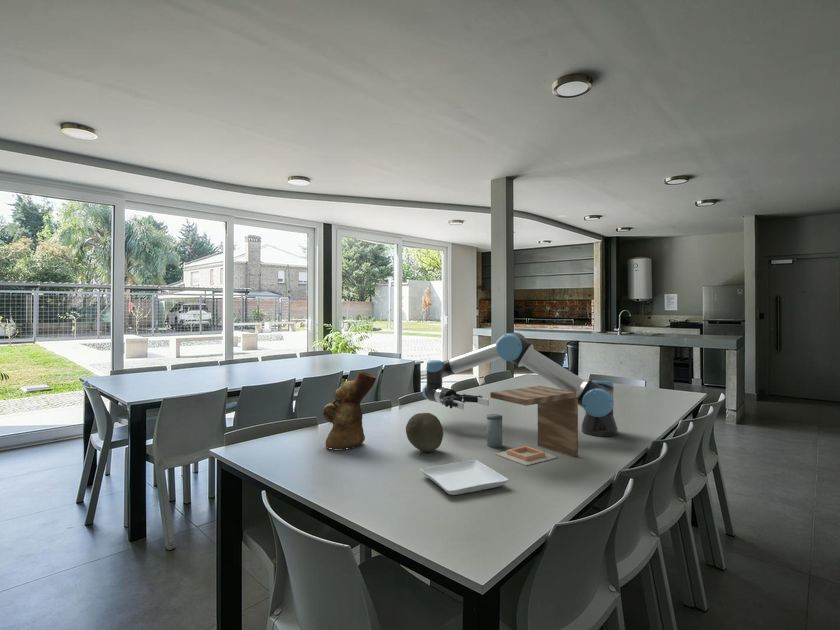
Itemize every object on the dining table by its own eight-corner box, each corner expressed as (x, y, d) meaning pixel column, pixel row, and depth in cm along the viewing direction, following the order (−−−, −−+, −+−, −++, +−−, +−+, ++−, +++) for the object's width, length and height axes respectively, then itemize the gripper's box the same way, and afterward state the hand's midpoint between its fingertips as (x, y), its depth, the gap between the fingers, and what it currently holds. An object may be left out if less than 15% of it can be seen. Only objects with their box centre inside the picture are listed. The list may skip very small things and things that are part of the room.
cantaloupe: (435, 445, 190) (435, 408, 190) (448, 455, 177) (448, 415, 177) (402, 448, 186) (401, 410, 186) (412, 459, 172) (412, 418, 172)
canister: (495, 442, 193) (495, 413, 193) (505, 446, 188) (505, 416, 188) (483, 444, 190) (483, 415, 190) (494, 448, 185) (494, 418, 185)
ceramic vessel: (324, 440, 198) (324, 369, 198) (376, 438, 200) (376, 368, 200) (321, 451, 182) (320, 374, 182) (377, 449, 185) (376, 373, 185)
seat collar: (525, 447, 186) (525, 442, 186) (557, 457, 173) (557, 452, 173) (495, 454, 177) (495, 449, 177) (526, 466, 164) (526, 460, 164)
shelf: (541, 444, 189) (540, 385, 189) (578, 456, 174) (577, 391, 174) (490, 456, 175) (490, 392, 175) (526, 470, 160) (525, 399, 159)
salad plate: (448, 501, 135) (448, 489, 135) (419, 477, 154) (419, 467, 154) (510, 490, 143) (510, 478, 143) (475, 468, 162) (475, 458, 162)
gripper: (467, 401, 223) (497, 409, 205) (423, 407, 209) (452, 416, 192) (467, 386, 223) (498, 392, 205) (423, 390, 209) (452, 398, 192)
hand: (476, 404), depth 198 cm, fingers open, 13 cm apart
